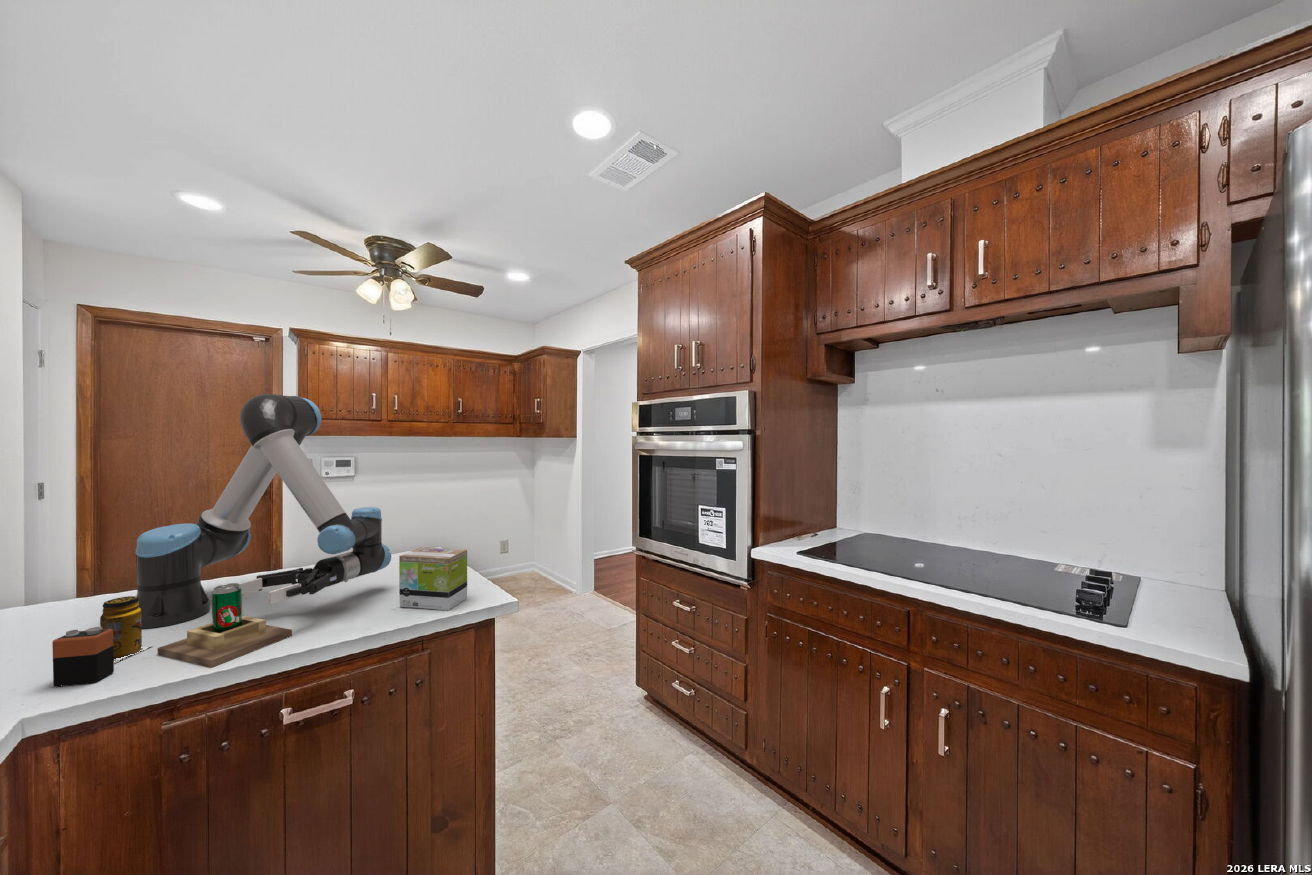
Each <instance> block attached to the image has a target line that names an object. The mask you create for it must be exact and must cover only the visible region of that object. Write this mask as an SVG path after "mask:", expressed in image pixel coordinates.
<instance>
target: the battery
mask: <svg viewBox="0 0 1312 875" xmlns="http://www.w3.org/2000/svg"><path fill="white" fill-rule="evenodd" d="M51 645H52V676H53V677H52V678H53V679H52V681H53V682H52V683H53V687H55V686H58V687H64V686H63V685H69V686H74V685H73V684H79V685H87V684H86V683H89V684H96V683H97V681H98V682H99V681H101V680H103V679H105V678H106V677H109V676H110V675H111V674H113V673H114V671H115V667H114V666H115V664H114V653H113V629H102V627H100V626H94V627H90V628H87V629H85V630H79V629H70V630H68V631H66V632H65V635H62V636H59V637H58V638H56V639H54V640H52V644H51ZM104 677H105V678H104ZM95 682H96V683H95ZM61 685H62V686H61Z"/></svg>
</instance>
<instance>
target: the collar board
mask: <svg viewBox="0 0 1312 875" xmlns="http://www.w3.org/2000/svg"><path fill="white" fill-rule="evenodd" d="M290 636H291V637H292V636H293V629H290V628H285V627H279V626H276V625H275V626H274V625H268V624H266V619H262V618H256V617H252V616H246V615H242V626H240V627H237V628H234V629H231V630H228V631H225V632H222V633H215V632H212V622H211V623H207V624H204V625H202V626H199V627H196V628H192V629H189V630H187V631H186V638H183V639H180V640H177V641H174V642H170V643H169V644H165V645H163V646H159V647H157V649H156V650H157V655H158V654H159V655H158V656H161V655H162V656H161V657H165V658H169V659H173V660H174V659H175V660H177V659H178V660H179V661H182V660H183V661H182V662H188V663H191V664H194V663H195V665H198V666H204V667H208V668H210V669H211V668H214V667H216V666H219V665H222V664H224V663H227V662H230V661H232V660H234V659H237V658H239V657H242V656H245V655H248V654H250V653H252V652H255V651H257V650H260V649H263V648H265V647H268V646H269V645H270V646H271V645H273V644H275V643H278V642H280V641H282V640H284V639H288V638H290ZM287 637H288V638H287ZM274 642H275V643H274ZM272 643H273V644H272ZM264 646H265V647H264ZM262 647H263V648H262ZM254 650H255V651H254Z"/></svg>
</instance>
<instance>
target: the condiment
mask: <svg viewBox="0 0 1312 875" xmlns="http://www.w3.org/2000/svg"><path fill="white" fill-rule="evenodd" d="M136 596H137V595H136ZM136 596H133V595H132V596H129V595H128V596H121V597H117V598H112V599H110V600H107V601H104V602H103V603H102V608H103V609H102V614H101V615H100V617H99V623H100V624H99V627H102V629H113V653H114V659H116V658H121V657H124V656H128V655H130V654H135V653H136V655H138V654H140V653H141V652H139V651H140V650H143V648H141V646H142V645H143V632H142V629H143V628H142V626H141V625H142V624H141V614H142V613H141V609H140V608H139V607H138V606H139V604H138V600H139V599H138V597H136ZM141 628H142V629H141ZM146 650H148V649H145V651H146ZM137 652H139V653H138V654H137ZM127 658H129V657H127ZM127 658H122V659H123V660H126V659H127ZM118 662H121V661H120V660H117V661H116V660H115V662H114V663H115V664H117V663H118Z"/></svg>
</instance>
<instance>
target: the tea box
mask: <svg viewBox="0 0 1312 875" xmlns="http://www.w3.org/2000/svg"><path fill="white" fill-rule="evenodd" d="M398 558H399V562H398V564H399V566H398V568H399V575H398V576H399V584H398V586H399V588H398V589H399V596H398V597H399V607H400V608H415V609H425V610H436V611H438V610H439V611H446V612H447V611H450V610H452V609H454V608H455V607H456V606H458V605H459V604H460V603H462V602H464V601H465V600H466V599H468V549H466V548H464V549H462V548H461V549H459V548H443V547H423V546H420V547H417V548H416V549H413V550H411V551H408V552H406V553H404V554H401V555H399V557H398ZM451 608H452V609H451Z"/></svg>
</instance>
